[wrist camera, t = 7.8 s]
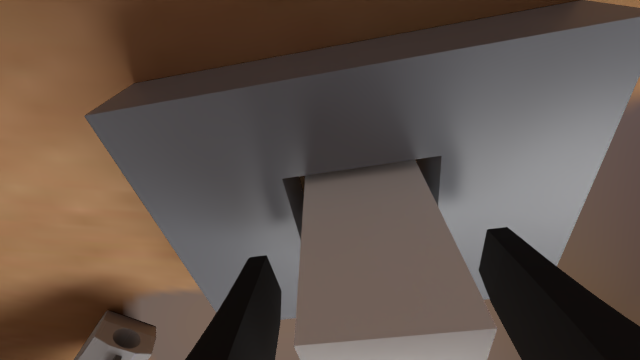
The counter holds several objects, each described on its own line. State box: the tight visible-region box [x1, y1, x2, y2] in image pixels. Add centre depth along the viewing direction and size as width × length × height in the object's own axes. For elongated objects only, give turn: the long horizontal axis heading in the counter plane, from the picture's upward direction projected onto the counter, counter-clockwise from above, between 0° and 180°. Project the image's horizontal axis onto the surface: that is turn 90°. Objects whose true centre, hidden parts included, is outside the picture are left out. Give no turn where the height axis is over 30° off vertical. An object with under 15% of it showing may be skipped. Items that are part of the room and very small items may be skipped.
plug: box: [294, 160, 497, 360], centre depth 11 cm, size 4×4×8 cm
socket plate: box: [85, 0, 640, 320], centre depth 13 cm, size 16×12×3 cm
